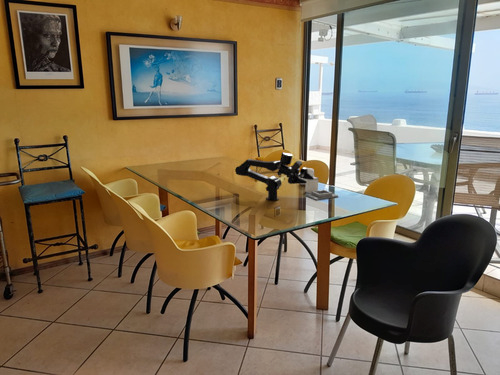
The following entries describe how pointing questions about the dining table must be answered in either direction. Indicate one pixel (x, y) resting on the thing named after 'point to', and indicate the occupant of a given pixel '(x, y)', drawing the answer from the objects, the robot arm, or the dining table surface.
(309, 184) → the plug
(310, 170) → the photo printer
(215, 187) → the dining table surface
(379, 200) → the dining table surface
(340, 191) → the dining table surface
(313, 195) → the socket board
